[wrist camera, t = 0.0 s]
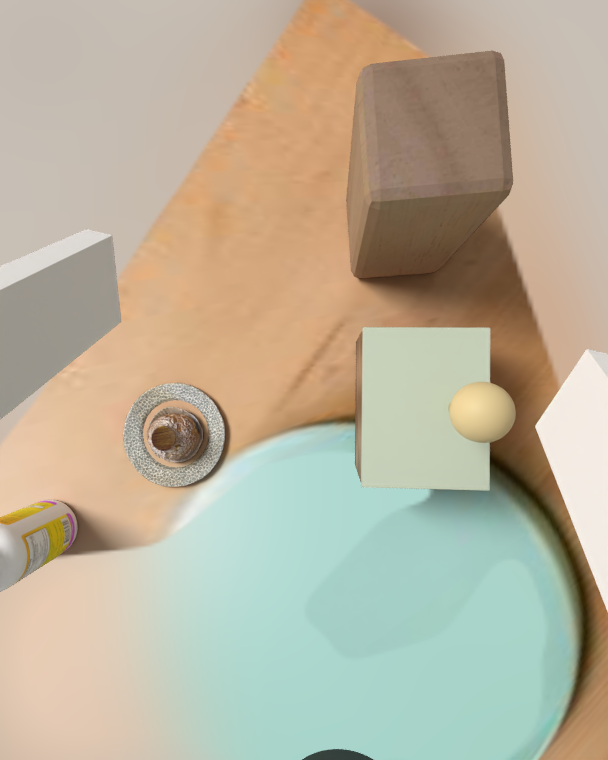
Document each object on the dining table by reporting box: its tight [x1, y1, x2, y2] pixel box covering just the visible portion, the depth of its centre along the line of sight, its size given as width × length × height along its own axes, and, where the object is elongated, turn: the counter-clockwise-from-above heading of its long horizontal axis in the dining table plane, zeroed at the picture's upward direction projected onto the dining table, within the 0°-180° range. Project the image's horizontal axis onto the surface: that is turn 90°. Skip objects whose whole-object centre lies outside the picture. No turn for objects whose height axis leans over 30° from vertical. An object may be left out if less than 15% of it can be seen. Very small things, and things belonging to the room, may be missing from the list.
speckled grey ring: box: [123, 383, 225, 487], centre depth 47 cm, size 12×12×5 cm
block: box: [346, 51, 513, 278], centre depth 38 cm, size 10×10×20 cm
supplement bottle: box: [0, 500, 77, 592], centre depth 43 cm, size 7×7×13 cm
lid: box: [361, 327, 516, 491], centre depth 34 cm, size 14×11×9 cm
